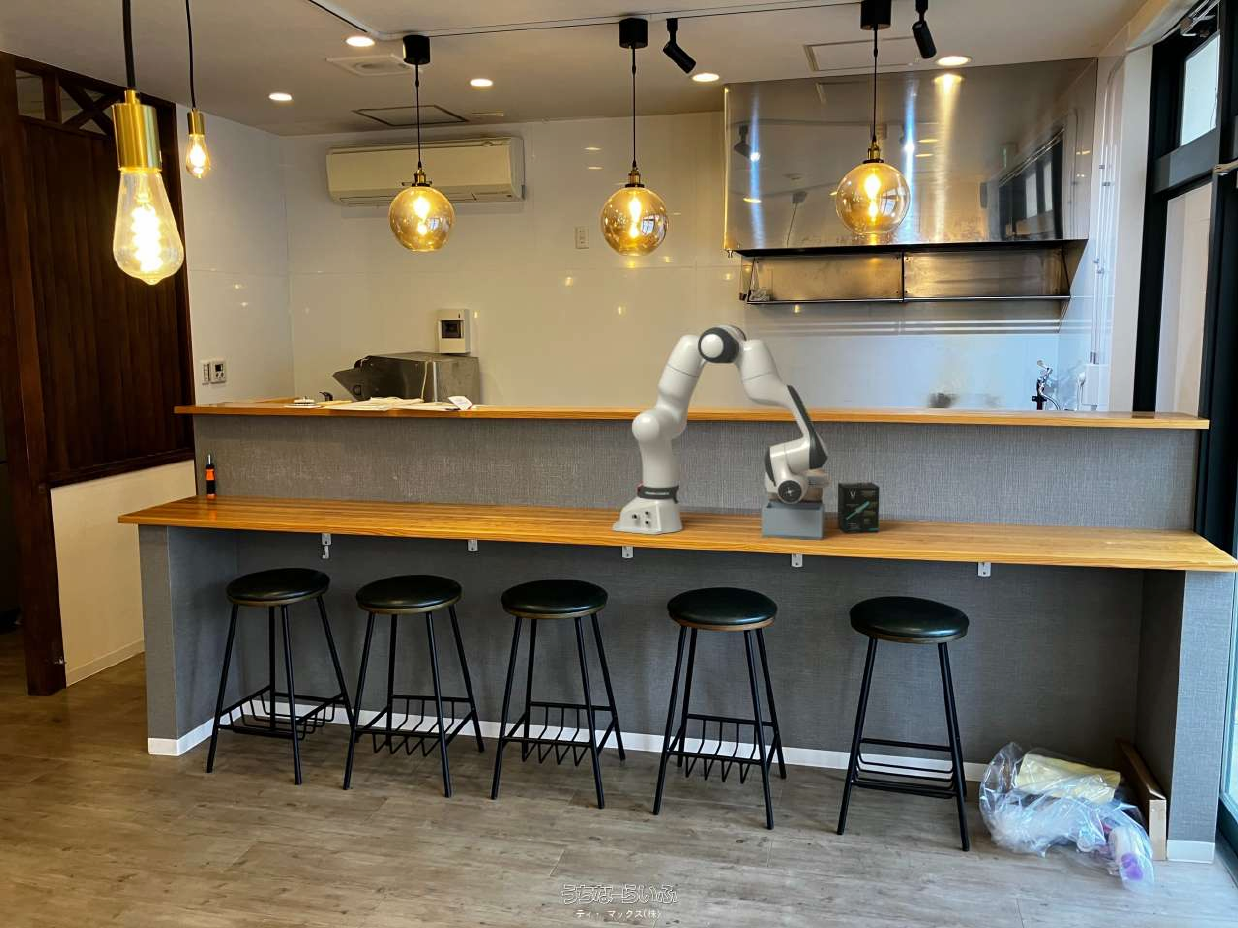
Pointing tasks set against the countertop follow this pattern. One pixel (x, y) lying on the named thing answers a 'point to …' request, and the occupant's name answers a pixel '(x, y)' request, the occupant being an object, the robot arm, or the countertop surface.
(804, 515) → the crate
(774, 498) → the lid flap
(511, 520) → the countertop surface
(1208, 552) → the countertop surface
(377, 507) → the countertop surface
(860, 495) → the tampon box
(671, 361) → the robot arm
